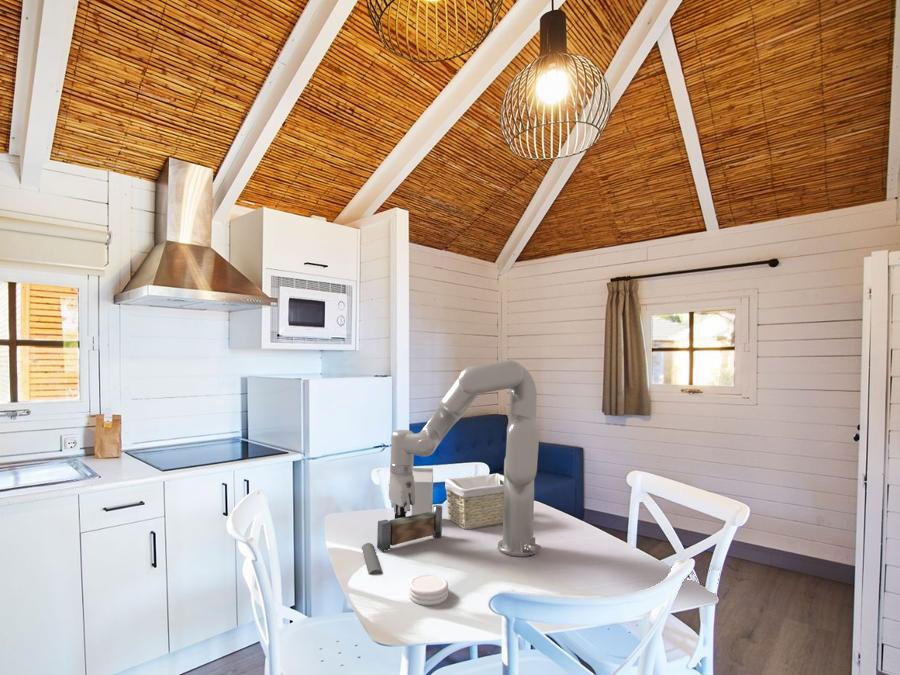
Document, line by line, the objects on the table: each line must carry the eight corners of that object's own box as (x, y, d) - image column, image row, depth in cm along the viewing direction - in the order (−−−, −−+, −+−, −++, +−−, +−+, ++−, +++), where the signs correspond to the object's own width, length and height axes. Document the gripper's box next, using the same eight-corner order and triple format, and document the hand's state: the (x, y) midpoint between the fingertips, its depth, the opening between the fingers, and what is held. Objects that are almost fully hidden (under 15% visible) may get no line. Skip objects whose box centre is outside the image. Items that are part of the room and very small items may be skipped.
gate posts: (443, 537, 167) (444, 507, 167) (381, 551, 153) (382, 519, 154) (438, 534, 169) (439, 504, 169) (377, 548, 156) (378, 516, 156)
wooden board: (430, 533, 166) (431, 511, 167) (434, 535, 165) (434, 512, 165) (388, 543, 157) (389, 520, 157) (392, 545, 155) (392, 522, 155)
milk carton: (431, 524, 179) (432, 470, 179) (411, 523, 179) (412, 470, 179) (432, 517, 186) (433, 466, 186) (413, 516, 186) (414, 465, 186)
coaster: (449, 606, 122) (449, 591, 122) (408, 607, 122) (409, 592, 122) (446, 586, 132) (446, 573, 132) (408, 587, 131) (409, 573, 132)
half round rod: (374, 548, 158) (374, 542, 158) (383, 575, 139) (383, 568, 139) (360, 549, 156) (360, 543, 156) (368, 577, 138) (368, 570, 138)
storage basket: (461, 532, 172) (462, 489, 172) (442, 517, 187) (443, 477, 187) (520, 523, 182) (521, 482, 182) (497, 510, 197) (498, 472, 197)
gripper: (423, 472, 158) (421, 530, 158) (400, 462, 171) (399, 517, 170) (402, 475, 154) (400, 535, 154) (381, 465, 167) (379, 520, 166)
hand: (399, 525), depth 162 cm, fingers closed
